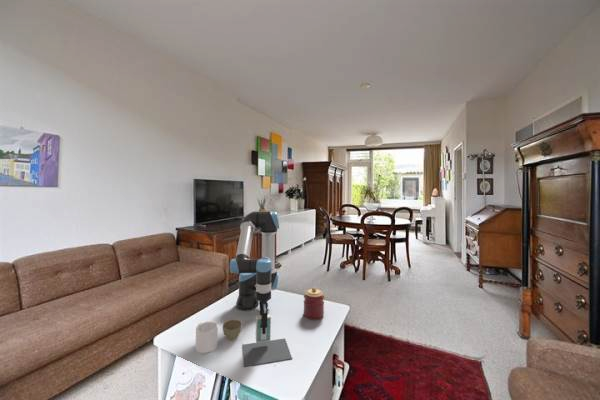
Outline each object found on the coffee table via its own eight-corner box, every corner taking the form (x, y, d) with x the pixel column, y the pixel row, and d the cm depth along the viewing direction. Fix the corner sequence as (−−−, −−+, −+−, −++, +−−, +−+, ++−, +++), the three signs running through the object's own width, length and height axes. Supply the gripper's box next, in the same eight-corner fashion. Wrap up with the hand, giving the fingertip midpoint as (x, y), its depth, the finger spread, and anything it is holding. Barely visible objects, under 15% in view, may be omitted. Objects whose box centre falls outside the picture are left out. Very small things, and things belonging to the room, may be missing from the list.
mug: (221, 346, 122) (221, 326, 122) (202, 356, 114) (202, 335, 114) (207, 336, 130) (207, 317, 130) (189, 345, 122) (189, 325, 122)
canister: (301, 318, 150) (302, 290, 150) (305, 309, 163) (305, 282, 162) (322, 321, 148) (323, 292, 147) (324, 311, 161) (325, 284, 160)
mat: (242, 345, 123) (242, 344, 123) (285, 339, 129) (285, 338, 129) (243, 367, 108) (243, 366, 108) (292, 359, 114) (292, 358, 114)
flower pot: (219, 336, 130) (219, 323, 130) (236, 330, 137) (236, 317, 136) (227, 346, 123) (227, 332, 122) (245, 338, 129) (245, 325, 129)
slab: (255, 339, 123) (256, 315, 123) (269, 337, 125) (269, 314, 125) (256, 342, 120) (256, 318, 120) (270, 340, 122) (270, 317, 122)
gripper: (254, 285, 129) (254, 329, 130) (257, 298, 113) (257, 347, 114) (268, 284, 131) (268, 327, 132) (273, 296, 115) (273, 345, 116)
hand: (263, 336), depth 123 cm, fingers closed on slab, 3 cm apart
